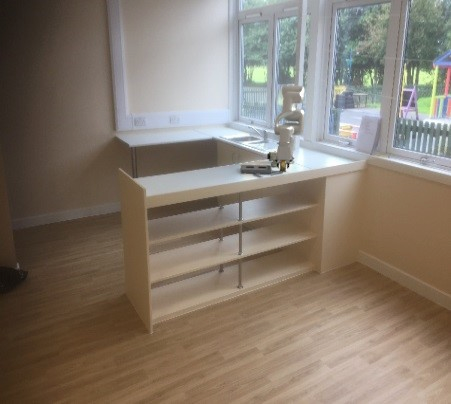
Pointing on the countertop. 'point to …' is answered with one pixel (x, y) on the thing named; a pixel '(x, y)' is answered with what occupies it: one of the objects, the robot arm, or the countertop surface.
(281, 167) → the bushing
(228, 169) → the countertop surface
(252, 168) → the jig
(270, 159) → the pneumatic valve
